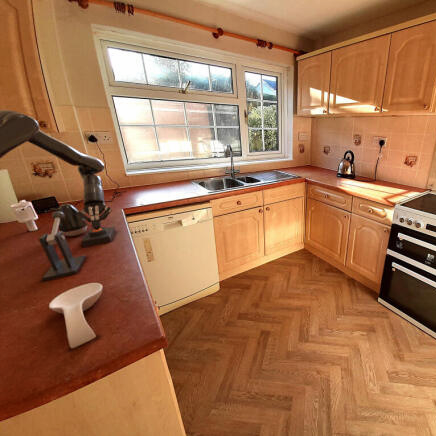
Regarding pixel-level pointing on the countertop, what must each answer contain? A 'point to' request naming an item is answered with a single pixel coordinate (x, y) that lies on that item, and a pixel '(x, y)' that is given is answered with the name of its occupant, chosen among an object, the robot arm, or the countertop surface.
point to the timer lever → (55, 227)
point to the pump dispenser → (71, 221)
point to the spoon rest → (77, 311)
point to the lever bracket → (59, 266)
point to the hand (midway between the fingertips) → (96, 228)
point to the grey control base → (98, 236)
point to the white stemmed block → (25, 214)
